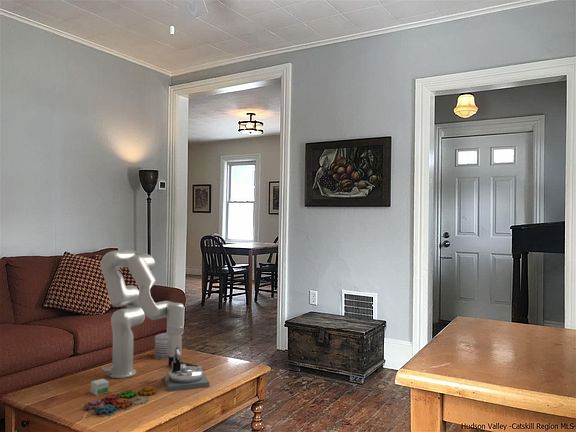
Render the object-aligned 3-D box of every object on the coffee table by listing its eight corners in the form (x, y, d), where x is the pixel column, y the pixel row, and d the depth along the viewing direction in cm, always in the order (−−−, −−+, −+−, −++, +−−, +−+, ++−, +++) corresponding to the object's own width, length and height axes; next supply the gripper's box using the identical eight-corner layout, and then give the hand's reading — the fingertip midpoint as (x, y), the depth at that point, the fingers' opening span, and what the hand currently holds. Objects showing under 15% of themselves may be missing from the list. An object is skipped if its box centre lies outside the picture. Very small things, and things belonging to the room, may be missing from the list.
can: (175, 359, 253) (175, 336, 253) (153, 360, 250) (154, 337, 251) (175, 353, 264) (176, 332, 264) (155, 354, 261) (155, 332, 262)
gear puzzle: (145, 388, 209) (145, 379, 209) (169, 396, 199) (169, 386, 200) (79, 409, 184) (80, 399, 184) (103, 420, 174) (103, 409, 174)
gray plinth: (168, 391, 204) (168, 379, 204) (163, 378, 221) (163, 367, 221) (209, 386, 211) (209, 375, 211) (201, 374, 227) (201, 364, 228)
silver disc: (206, 380, 212) (206, 362, 212) (172, 384, 206) (173, 366, 206) (197, 370, 226) (198, 354, 226) (166, 374, 219) (166, 357, 220)
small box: (96, 396, 197) (96, 384, 197) (90, 392, 201) (90, 381, 201) (109, 392, 201) (109, 381, 202) (103, 389, 205) (103, 378, 205)
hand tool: (198, 372, 232) (198, 362, 232) (191, 374, 228) (192, 364, 229) (173, 365, 243) (174, 356, 243) (167, 366, 240) (167, 357, 240)
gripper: (162, 327, 220) (162, 364, 220) (171, 335, 204) (170, 374, 204) (178, 325, 223) (178, 362, 223) (188, 333, 208) (187, 372, 207)
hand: (174, 368), depth 213 cm, fingers open, 9 cm apart
